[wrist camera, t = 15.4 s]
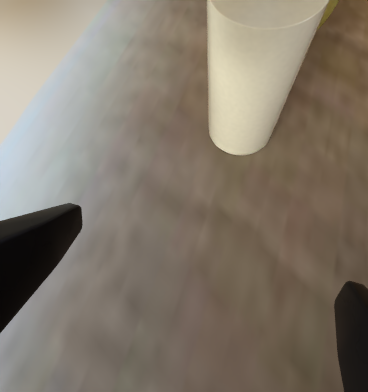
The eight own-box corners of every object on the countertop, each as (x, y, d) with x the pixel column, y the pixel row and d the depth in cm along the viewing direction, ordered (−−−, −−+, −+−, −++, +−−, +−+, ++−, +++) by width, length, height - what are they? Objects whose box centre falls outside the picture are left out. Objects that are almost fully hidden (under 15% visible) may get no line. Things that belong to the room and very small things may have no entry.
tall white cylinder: (282, 145, 24) (357, 8, 12) (218, 162, 24) (226, 43, 12) (260, 92, 26) (306, -75, 14) (201, 108, 26) (193, -44, 14)
